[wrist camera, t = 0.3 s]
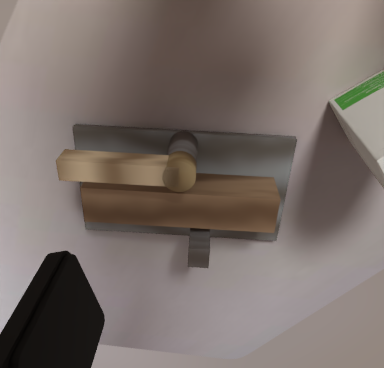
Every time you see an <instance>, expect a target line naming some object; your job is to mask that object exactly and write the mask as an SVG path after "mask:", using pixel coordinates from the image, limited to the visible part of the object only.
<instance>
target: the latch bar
mask: <svg viewBox="0 0 384 368" xmlns="http://www.w3.org/2000/svg"><path fill="white" fill-rule="evenodd" d="M56 164H57V171H58V177H59V180H63V181H80V182H97V183H114V184H131V185H148V186H166V187H167V188H168V189H170V190H172V191H175V192H184V191H187V190H189V189H190V188H191V187H192V186H193V185H194V183H195V180H196V168H197V164H196V161H195V159H194V157H193V156H192V155H191V154H189V153H187V152H184V151H176V152H173V153H171V154H170V155H156V154H139V153H121V152H104V151H86V150H69V149H65V150H64V151H63V152H62V154H61V155H60V156H59V157H58V158H57V160H56Z"/></svg>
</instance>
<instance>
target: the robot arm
mask: <svg viewBox="0 0 384 368" xmlns="http://www.w3.org/2000/svg"><path fill="white" fill-rule="evenodd" d="M104 321H105V319H104V313H103V311H102V309H101V307H100V305H99V303H98V301H97V299H96V296H95V294H94V292H93V290H92V288H91V286H90V284H89V282H88V280H87V278H86V276H85V274H84V272H83V270H82V268H81V266H80V264H79V262H78V259H77V258H76V256H75V255H73V254H70V252H68V251H61V252H55V253H50V254H48V255H47V256H46V258H45V259H44V261H43V263H42V264H41V266H40V268H39V269H38V271H37V273H36V274H35V276H34V278H33V280H32V281H31V283H30V285H29V286H28V288H27V290H26V291H25V293H24V295H23V297H22V298H21V300H20V302H19V303H18V305H17V307H16V308H15V310H14V312H13V314H12V315H11V317H10V319H9V320H8V322H7V324H6V325H5V327H4V329H3V331H2V332H1V334H0V368H91V366H92V362H93V359H94V356H95V353H96V350H97V346H98V343H99V340H100V336H101V333H102V330H103V327H104Z"/></svg>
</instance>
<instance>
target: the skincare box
mask: <svg viewBox="0 0 384 368" xmlns="http://www.w3.org/2000/svg"><path fill="white" fill-rule="evenodd" d="M329 103H330V105H331V108H332V109H333V111H334V113H335V115H336V117H337V119H338V121H339V123H340V125H341V127H342V129H343V130H344V132H345V134H346V136H347V138H348V140H349V141H350V143H351V144H352V145H353V147H354V148H355V150H356V151H357V152H358V154H359V155H360V156H361V158H362V159H363V161H364V162H365V163H366V165H367V166H368V167H369V169H370V170H371V172H372V173H373V174H374V176H375V177H376V179H377V180H378V181H379V183H380V184H381V185H382V187H383V188H384V69H383V70H382V71H380V72H378V73H376V74H374V75H372V76H371V77H369V78H367V79H365V80H364V81H362V82H360V83H359V84H357V85H355V86H353V87H352V88H350V89H348V90H346V91H345V92H343V93H341V94H339V95H337V96H336V97H334V98H332V99H330V100H329Z"/></svg>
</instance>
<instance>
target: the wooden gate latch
mask: <svg viewBox="0 0 384 368" xmlns="http://www.w3.org/2000/svg"><path fill="white" fill-rule="evenodd" d="M73 134H74V142H75V150H86V151H104V152H121V153H139V154H156V155H170V154H171V153H173V152H176V151H184V152H187V153H189V154H191V155H192V156H193V157H194V159H195V161H196V164H197V168H196V180H195V183H194V185H193V186H192V187H191V188H190V189H189V190H187V191H184V192H175V191H172V190H170V189H168V188H167V187H166V186H148V185H131V184H114V183H97V182H80V191H81V198H82V206H83V214H84V221H85V227H86V229H89V230H106V231H122V232H139V233H155V234H172V235H189V236H190V238H189V253H188V267H200V268H208V265H209V253H210V237H222V238H238V239H255V240H271V241H276V240H277V235H278V231H279V226H280V221H281V216H282V211H283V206H284V201H285V196H286V191H287V186H288V181H289V176H290V171H291V166H292V162H293V157H294V152H295V147H296V142H297V139H296V137H295V136H278V135H260V134H242V133H224V132H206V131H188V130H170V129H152V128H135V127H117V126H99V125H81V124H75V125H74V126H73Z"/></svg>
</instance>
